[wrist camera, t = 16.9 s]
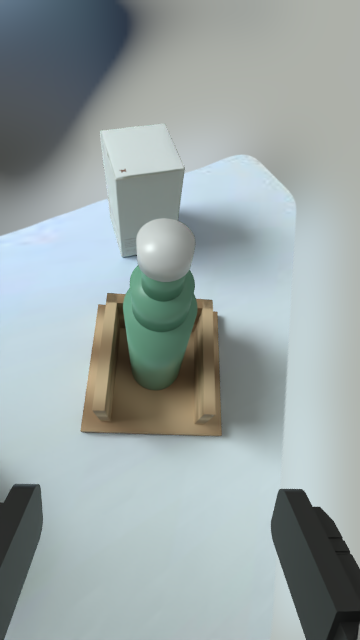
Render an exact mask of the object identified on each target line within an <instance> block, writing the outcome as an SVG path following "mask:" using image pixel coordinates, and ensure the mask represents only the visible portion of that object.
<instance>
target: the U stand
mask: <svg viewBox="0 0 360 640" xmlns="http://www.w3.org/2000/svg"><path fill="white" fill-rule="evenodd" d="M125 295H126V294H114V293H107V300H106V305H100V304H98V311H97V318H96V325H95V333H94V340H93V347H92V354H91V361H90V368H89V375H88V382H87V389H86V396H85V403H84V410H83V417H82V424H81V432H93V433H126V434H159V435H192V436H221V435H222V431H221V402H220V374H219V345H218V316H217V312H213V302H212V300H205V299H196V301H197V316H196V319H195V322H194V325H193V329H192V332H191V335H190V338H189V341H188V345H187V348H186V351H185V354H184V358H183V361H182V364H181V367H180V370H179V374H178V376H177V378H176V380H175V381H174V382H173V383H172V384H171V385H170V386H169V387H167V388H165V389H162V390H149V389H146V388H144V387H142V386H141V385H139V384H138V383H137V382H136V380H135V379H134V377H133V374H132V370H131V363H130V355H129V348H128V341H127V334H126V326H125V319H124V312H123V302H124V298H125Z"/></svg>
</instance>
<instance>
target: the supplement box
mask: <svg viewBox="0 0 360 640" xmlns="http://www.w3.org/2000/svg"><path fill="white" fill-rule="evenodd" d="M100 138H101V148H102V156H103V163H104V171H105V179H106V187H107V194H108V202H109V211H110V218H111V222H112V226H113V229H114V233H115V236H116V239H117V243H118V246H119V249H120V253H121V256H122V257H127V256H132V255H137V244H136V238H137V234H138V232H139V230H140V229H141V228H142V227H143V226H144V225H145V224H146V223H148V222H150V221H152V220H155V219H161V218H167V219H173V220H177V221H178V216H179V208H180V200H181V192H182V185H183V178H184V170H185V167H184V165H183V163H182V161H181V158H180V156H179V154H178V151H177V149H176V147H175V145H174V143H173V140H172V138H171V136H170V134H169V131H168V129H167V127H166V125H165V124H156V125H147V126H137V127H129V128H120V129H112V130H101V131H100Z"/></svg>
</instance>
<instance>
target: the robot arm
mask: <svg viewBox="0 0 360 640" xmlns="http://www.w3.org/2000/svg"><path fill="white" fill-rule="evenodd" d="M42 524H43V514H42V500H41V488H40V485H39V484H15V485H13V487H12V488H11V490H10V492H9V494H8V496H7V498H6V500H5V502H4V503H0V640H4V638H5V635H6V632H7V629H8V626H9V624H10V621H11V618H12V615H13V612H14V610H15V607H16V604H17V601H18V598H19V595H20V593H21V590H22V587H23V584H24V581H25V579H26V576H27V573H28V570H29V567H30V564H31V562H32V559H33V556H34V553H35V550H36V548H37V545H38V542H39V539H40V535H41V530H42ZM271 533H272V539H273V542H274V545H275V548H276V551H277V554H278V557H279V560H280V563H281V566H282V569H283V572H284V575H285V578H286V581H287V584H288V587H289V589H290V593H291V596H292V599H293V602H294V605H295V608H296V611H297V614H298V617H299V620H300V623H301V626H302V629H303V632H304V634H305V637H306V640H360V569H359V567H358V565H357V563H356V561H355V560H354V558H353V556H352V555H351V554H350V551H349V548H348V547H347V545H346V543H345V541H343V539H342V536H341V534H340V532H339V531H338V528H337V527H336V525H335V523H334V521H333V520H332V519H331V518H330V517H329V516H328V515H327V514H326V513H325V512H324V511H323V510H322V509H321V508H320V507H312V505H311V503H310V501H309V499H308V497H307V495H306V493H305V492H304V491H303V490H302V489H280V490H279V491H278V495H277V499H276V503H275V507H274V511H273V516H272V520H271Z"/></svg>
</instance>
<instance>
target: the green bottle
mask: <svg viewBox="0 0 360 640" xmlns="http://www.w3.org/2000/svg"><path fill="white" fill-rule="evenodd" d="M136 244H137V262H138V266H137V267H136V268H135V269H134V271H133V272H132V275H131V278H130V288H129V290H128V291H127V293H126V295H125V298H124V302H123V312H124V319H125V326H126V334H127V341H128V348H129V355H130V363H131V370H132V374H133V377H134V379H135V380H136V382H137V383H138V384H139V385H141V386H142V387H144V388H146V389H149V390H162V389H165V388H167V387H169V386H170V385H171V384H172V383H173V382H174V381H175V380H176V378H177V376H178V374H179V370H180V367H181V364H182V361H183V358H184V354H185V351H186V348H187V345H188V341H189V338H190V335H191V332H192V329H193V325H194V322H195V319H196V316H197V301H196V298H195V295H194V288H195V282H194V278H193V275H192V273H191V271H190V270H189V269H190V267H191V264H192V259H193V254H194V250H195V238H194V235H193V233H192V231H191V230H190V229H189V228H188V227H187V226H186V225H184V224H183V223H181V222H179V221H177V220H173V219H167V218H161V219H155V220H152V221H150V222H148V223H146V224H145V225H144V226H143V227H142V228H141V229H140V230H139V232H138V234H137V238H136Z"/></svg>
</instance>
